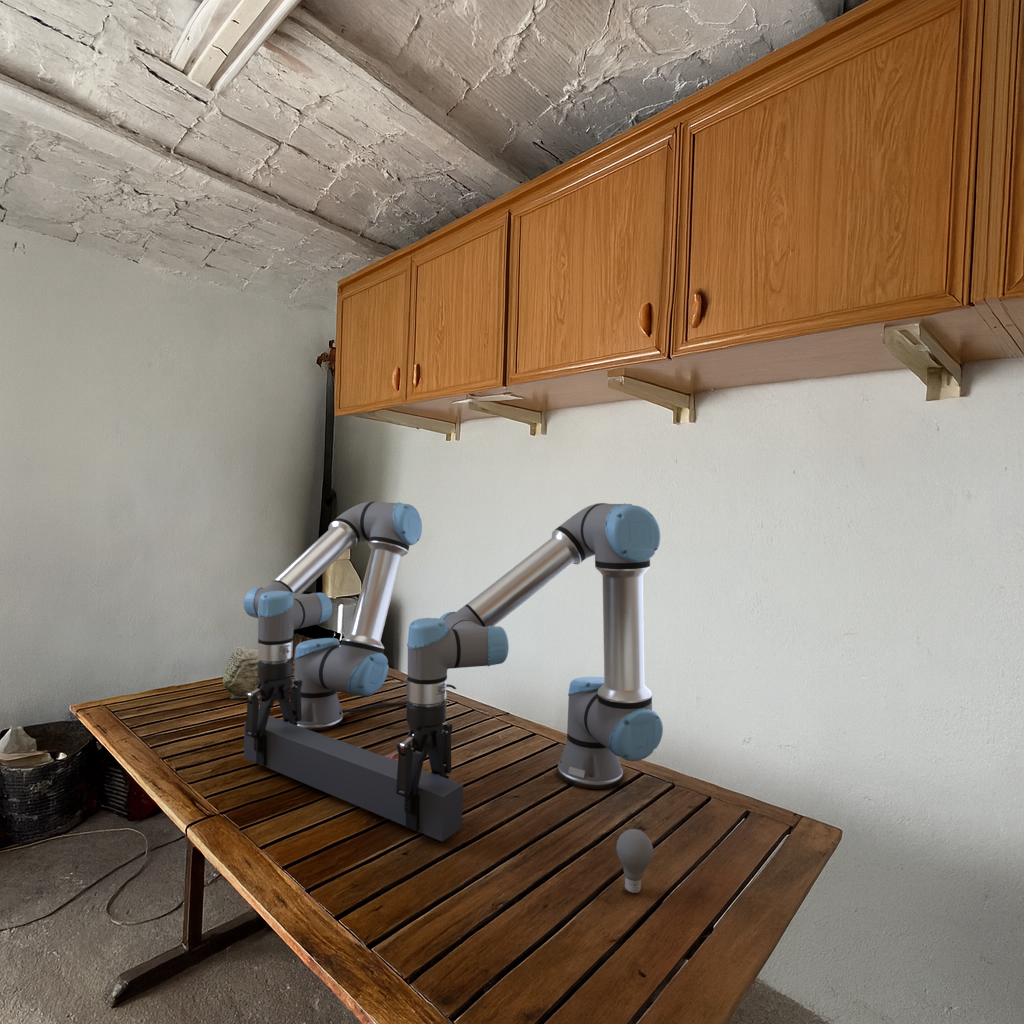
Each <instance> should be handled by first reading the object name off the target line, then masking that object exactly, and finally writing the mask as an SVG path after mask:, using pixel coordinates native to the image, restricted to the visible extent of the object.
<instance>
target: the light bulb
mask: <svg viewBox="0 0 1024 1024" xmlns="http://www.w3.org/2000/svg"><path fill="white" fill-rule="evenodd" d="M615 849H616V854H617V857H618V859H619V861H620V863H621V865H622V867H623V873H624V874H623V875H624V876H625V878H624V888H625V890H627V891H628V892H630V893H634V894H635V893H639V892H640V891H641V889H642V887H641V886H642V879H643V877H644V875H645V871H646V868H647V867H648V866H649V864H650V863H651V861H652V859H653V855H654V847H653V843H652V841H651V838H649V836H648V835H647V834H646V833H645V832H643V831H642V830H641V829H636V828H629V829H627V830H625V831H623V832H622V833H621V834H620V835H619V837H618V839H617V841H616V847H615Z"/></svg>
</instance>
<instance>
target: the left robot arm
mask: <svg viewBox="0 0 1024 1024" xmlns="http://www.w3.org/2000/svg"><path fill="white" fill-rule="evenodd" d="M422 533H423V523H422V517H421V515H420V512H419V511H418V509H417V508H416V507H415V506H414V505H411V504H410V503H409V504H408V503H402V502H383V501H365V502H361V503H359V504H356V505H353V506H352V507H351V508H349V509H347V510H345V511H343V512H342V513H341V514H340V515H338V516H337V517H336V518H335V519H334V520H333V521H331V522H330V523H329V525H328V530H327V531H326V532H325V533H323V534H322V535H321V536H320V537H319V538H318V539H317V540H316V541H315V542H313V544H311V545H310V546H309V547H308V548H307V549H306V550H304V552H302V553H301V554H300V555H299V556H298V557H297V558H296V559H294V561H293V562H292V563H290V565H288V566H287V567H286V568H285V569H284V570H283V571H282V572H281V573H280V574H279V575H277V576H276V577H275V578H274V579H273V580H272V581H271V582H270V583H268V584H267V585H266V586H265V587H255V588H252V589H250V590H249V591H248V592H247V593H246V595H245V596H244V598H243V609H244V612H245V613H246V614H247V615H248V616H249V617H251V618H255V619H257V648H258V660H260V661H259V662H258V679H259V684H258V686H257V689H256V690H254V691H253V692H247V693H246V698H245V699H246V702H247V703H246V718H245V722H246V732H245V734H246V735H247V736H249V737H252V738H254V751H256V763H255V764H257V765H259V766H261V767H265V766H266V765H267V737H266V736H264V733H265V729H266V725H267V721H268V718H269V716H270V713H271V710H272V707H274V704H275V702H276V701H278V704H279V708H280V712H281V715H282V719H283V721H285V722H288V723H291V724H294V725H297V726H300V727H302V728H305V729H308V730H311V731H314V732H317V733H319V732H325V731H329V730H332V729H335V728H337V727H339V726H340V725H342V723H343V722H344V713H357V712H363V711H367V710H370V709H375V708H379V707H388V706H402V705H407V703H408V700H405V701H402V702H401V701H399V702H383V703H376V704H372V705H367V706H365V707H361V708H345V709H342V706H341V702H340V699H339V695H338V692H340V693H344V694H348V695H350V696H355V697H358V696H359V697H370V696H372V695H374V694H376V693H377V691H378V690H380V689H381V687H382V686H383V685H384V683H385V681H386V679H387V677H388V673H389V664H388V663H389V660H388V658H387V656H386V655H385V654H384V651H385V646H384V644H383V643H382V641H381V640H382V636H383V632H384V628H385V624H386V621H387V616H388V612H389V608H390V604H391V600H392V596H393V592H394V588H395V584H396V580H397V576H398V571H399V568H400V565H401V559H402V558H403V557H404V556H406V555H408V553H409V550H410V547H411V546H414V545H416V544H417V543H418V542H419V541H420V539H421V537H422ZM362 542H367V545H368V548H370V551H371V552H370V554H369V559H368V563H367V566H366V570H365V573H364V577H363V581H362V585H361V589H360V592H359V596H358V600H357V605H356V606H355V607H356V608H355V611H354V615H353V618H352V623H351V626H350V630H349V634H348V635H346V636H344V637H343V638H342V639H341V642H340V640H339V639H338V638H335V637H322V638H313V639H308V640H304V641H302V642H299V643H298V644H297V645H296V647H295V652H294V630H299V629H304V628H307V627H310V626H317V625H320V624H322V623H323V622H324V623H325V622H326V621H328V620H329V619H330V617H331V616H332V613H333V603H332V600H331V598H330V597H329V596H328V595H327V594H326V593H323V592H311V593H305V591H306V590H307V589H308V588H309V587H310V586H311V585H312V584H313V583H314V582H315V581H316V580H318V578H319V577H321V575H322V574H324V572H325V571H326V570H328V569H329V567H331V566H332V565H333V564H334V563H335V562H336V561H337V560H338V559H339V558H340V557H341V556H342V555H343V554H344V553H345V552H346V551H348V550H352V549H354V548H355V547H356V546H357V545H359V544H360V543H362ZM294 653H295V654H294ZM292 658H293V659H294V660H293V659H292ZM293 665H294V666H293ZM292 676H293V678H292ZM446 688H452V689H453V690H457V687H456V686H454V685H453V684H450V683H449V684H447V683H446ZM259 695H261V697H259Z"/></svg>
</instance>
